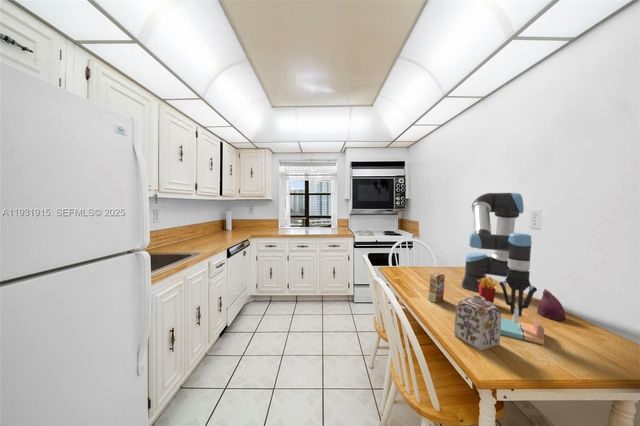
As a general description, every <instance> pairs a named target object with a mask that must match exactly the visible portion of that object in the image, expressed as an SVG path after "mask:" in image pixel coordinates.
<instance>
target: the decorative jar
mask: <svg viewBox="0 0 640 426" xmlns="http://www.w3.org/2000/svg"><path fill="white" fill-rule="evenodd" d="M501 318H502V312H501V310H500V309H498V307H497V306H496V304H494V302H493V303H491V302H489V301H486V300H485V298H483V297H481V296H479V295H471V296H466V297H462V298H460V300H459V301H458V302H457V303H456V304H455V315H454V332H453V333H454V337H456V338H458V339H459V340H460V341H463V342H465V343H466V344H468V345H470V346H472V347H474V348H475V349H477V350H479V351H481V352H482V351H485V350H487V349H490V348H493V347H495V346H500V342H501V334H500V331H501Z"/></svg>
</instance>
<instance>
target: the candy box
mask: <svg viewBox="0 0 640 426" xmlns="http://www.w3.org/2000/svg"><path fill="white" fill-rule="evenodd" d="M429 276H430V278H429V289H428V301H430V302H433V303H437V302H440V301H443V300H444V293H445V278H446V277H445V276H446V274H445V273H442V272H436V273H432V274H430V275H429Z"/></svg>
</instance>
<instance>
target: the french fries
mask: <svg viewBox="0 0 640 426" xmlns="http://www.w3.org/2000/svg"><path fill="white" fill-rule="evenodd" d="M480 280H481V281H480ZM480 280H478V279H477V281H478V282H479V283H480V284H479V292H478V293H479V294H478V296H481V297H483V298H485V300H486V301H489V302H491V303H493V304H494V301H495V296H496V288H495V286H496V285H497V283H496V282H494V281H493V279H492V278H491V276H489V277H488V278H487V277H485V278H482V279H480ZM484 283H485V284H484Z"/></svg>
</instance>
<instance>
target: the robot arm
mask: <svg viewBox="0 0 640 426" xmlns="http://www.w3.org/2000/svg"><path fill="white" fill-rule="evenodd" d="M524 210H525V209H524V200H523V196H522V195H521V194H520V193H518V192H487V193H484V194H482V195H480V196H478V197H477V198H475V200H474V201H473V203H472V204H471V212H472V213H473V232H471V233H469V243H468V244H469V245H468V246H469V247H470V248H472V249H479V250H491V251H492V250H493V251H494V252H492V253H491V254H490V256H488V255H487V253H483V252H482V253H481V252H473V253H471V252H470V253H468V254H466V255H465V266H464V269H465V270H464V277H463V278H462V281H461V285H460V286H461V288H463V289H465V290H468V291H471V290H472V291H471V292H476V291H477V293H479V284H480V283H479V282H478V281H477V279H478V280H480V279H482V278H485V277H486V276H487V275H488V276H497V277H502V278H505V279H504V280H502V281H499V282H498V283H499V285H500V287H501V289H502V292H503V293H502V294H503V296H504V300H505V301H504V302H505V304H506V305H507V306H509V307H510V309H509V312H510V314H511V315H512V320H513V322H514V323H518V322H519V317H522V315H523V314H522V313H523V309H528V308H529V305H530V303H531V302H532V299H533V296H534V293H536V292H537V291H538V288H537V287H536V286H534V285H532V284H531V282H530V272H531V271H529V270H531V251H532V244H533V241H532V236H531V234H528V233H527V234H526V233H520V232H519V233H517V232H515V224H516V219H517V218H519V217H520V214H523V213H524ZM491 213H494V216H495V217H496V228H495V234H492V226H491V215H490V214H491ZM486 278H487V277H486ZM480 281H481V280H480ZM484 284H485V283H484ZM507 285H508V287H509V288H510V289H511V290H510V301H509V296H508V291H507ZM527 289H528V292H527V294H526V297H525V300H524V299H523V298H524V291H526V290H527ZM516 291H518V299H517V306H516V305H515V304H516ZM523 300H524V303H523Z"/></svg>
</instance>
